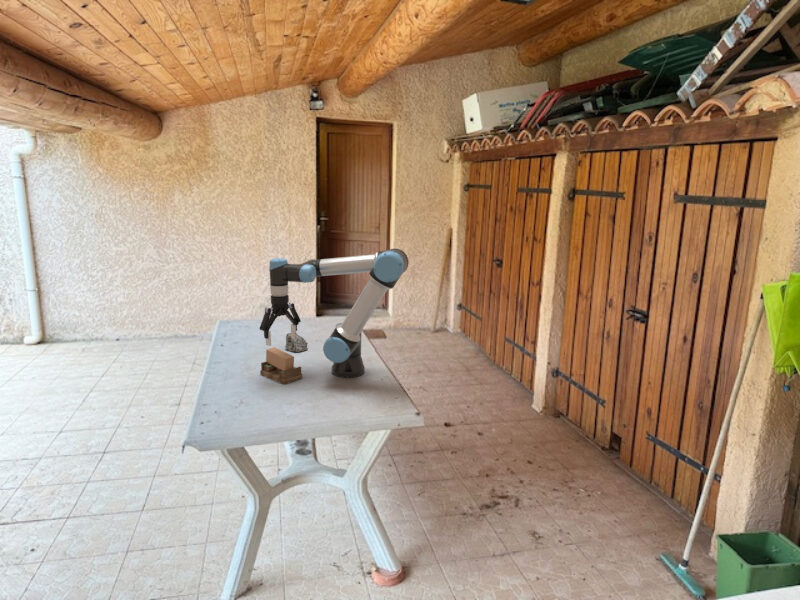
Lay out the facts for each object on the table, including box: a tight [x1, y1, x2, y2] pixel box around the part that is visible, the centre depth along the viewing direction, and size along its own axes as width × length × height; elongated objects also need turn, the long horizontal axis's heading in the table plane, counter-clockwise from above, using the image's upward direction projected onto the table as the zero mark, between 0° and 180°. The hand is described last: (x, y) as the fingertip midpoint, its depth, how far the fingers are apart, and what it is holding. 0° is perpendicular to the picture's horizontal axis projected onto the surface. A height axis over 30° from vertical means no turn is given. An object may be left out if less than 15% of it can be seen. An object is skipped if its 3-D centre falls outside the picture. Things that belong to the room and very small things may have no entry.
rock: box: [284, 332, 309, 353], centre depth 266 cm, size 13×10×10 cm
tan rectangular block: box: [265, 347, 295, 371], centre depth 227 cm, size 14×4×6 cm, turn 49°
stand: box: [259, 361, 303, 386], centre depth 228 cm, size 17×10×6 cm, turn 50°
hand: (281, 341), depth 225 cm, fingers open, 13 cm apart
